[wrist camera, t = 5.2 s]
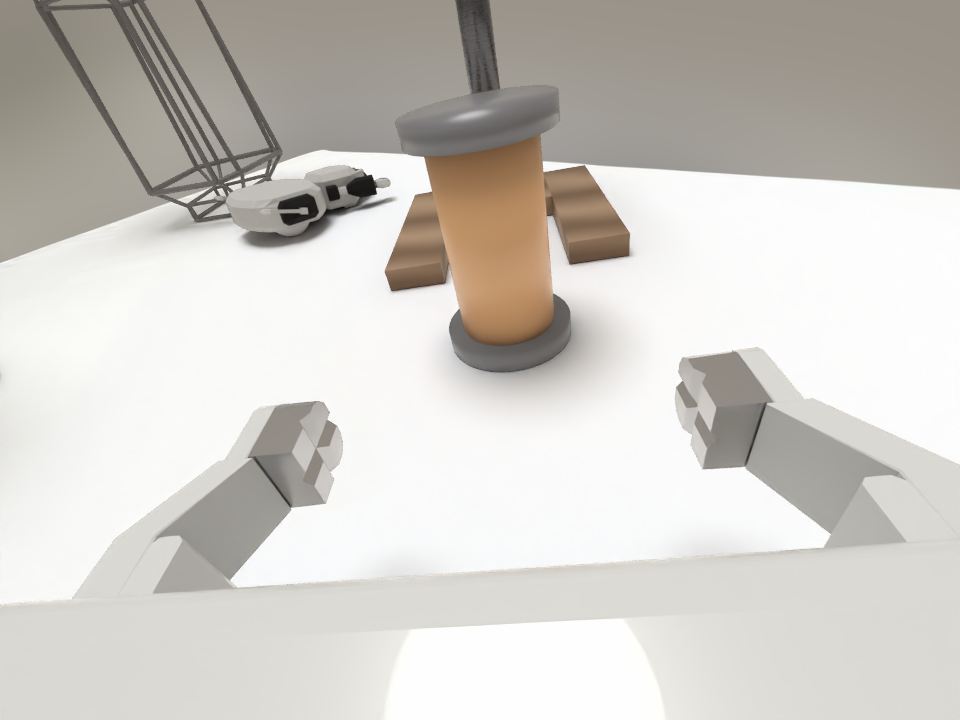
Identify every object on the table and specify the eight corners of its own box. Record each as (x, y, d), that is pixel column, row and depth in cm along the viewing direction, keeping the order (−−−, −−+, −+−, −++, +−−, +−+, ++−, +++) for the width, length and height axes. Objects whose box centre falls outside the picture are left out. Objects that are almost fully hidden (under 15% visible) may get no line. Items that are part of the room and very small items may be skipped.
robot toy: (345, 197, 55) (225, 235, 47) (334, 158, 52) (205, 191, 44) (403, 208, 47) (272, 256, 39) (394, 163, 45) (252, 204, 37)
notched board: (628, 255, 28) (629, 233, 27) (391, 290, 30) (384, 271, 29) (585, 182, 41) (584, 165, 40) (419, 210, 43) (415, 194, 42)
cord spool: (555, 378, 20) (533, 112, 14) (433, 365, 23) (363, 133, 16) (581, 304, 25) (573, 78, 18) (477, 300, 27) (436, 98, 20)
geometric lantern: (259, 223, 49) (-22, -310, 27) (146, 242, 52) (-183, -220, 31) (316, 178, 61) (152, -218, 39) (221, 195, 64) (22, -160, 43)
